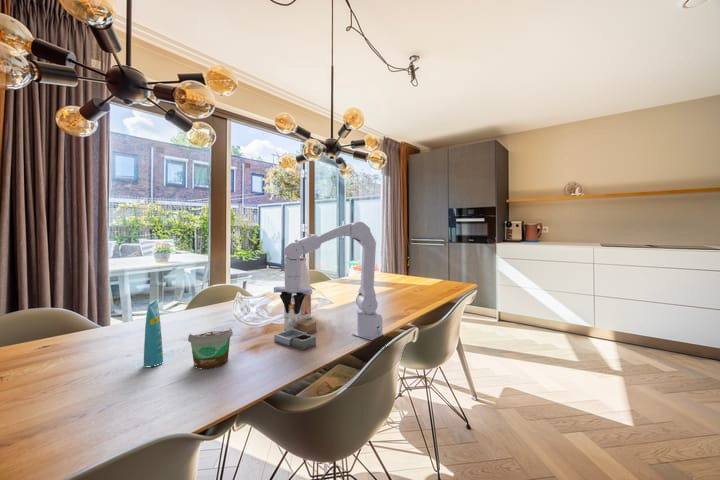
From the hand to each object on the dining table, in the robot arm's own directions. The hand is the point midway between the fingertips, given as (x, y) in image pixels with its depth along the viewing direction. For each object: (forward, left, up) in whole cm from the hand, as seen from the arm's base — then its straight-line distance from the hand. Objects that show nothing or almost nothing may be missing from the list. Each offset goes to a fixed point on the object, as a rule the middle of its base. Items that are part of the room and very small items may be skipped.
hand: (292, 313), depth 109 cm
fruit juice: (+21, -22, -11) cm, 32 cm away
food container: (+4, +28, -11) cm, 30 cm away
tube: (+19, +38, -11) cm, 44 cm away
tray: (+1, 0, -10) cm, 11 cm away
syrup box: (+12, -10, -11) cm, 19 cm away
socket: (-6, 0, -10) cm, 12 cm away
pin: (0, 0, -5) cm, 5 cm away
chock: (+5, -10, -11) cm, 16 cm away
